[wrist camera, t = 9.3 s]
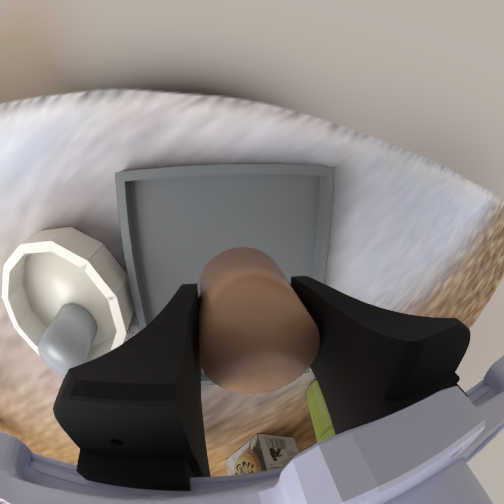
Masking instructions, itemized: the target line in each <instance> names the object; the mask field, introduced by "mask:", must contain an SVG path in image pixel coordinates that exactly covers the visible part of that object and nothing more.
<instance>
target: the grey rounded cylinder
mask: <svg viewBox="0 0 504 504" xmlns="http://www.w3.org/2000/svg"><path fill="white" fill-rule="evenodd" d="M96 334H97V323H96V321H95V319H94V317H93V316H92V315H91V313H90V312H89V311H87V310H86V309H85V308H83V307H82V306H80V305H77V304H72V303H69V304H65V305H63V306H62V307H61V308H60V310H59V311H58V313H57V314H56V316H55V317H54V319H53V320H52V322H51V323H50V325H49V327H48V328H47V330H46V331H45V333H44V335H43V336H42V338H41V340H40V341H39V343H38V352H39V355H40V357H41V358H42V360H43V361H44V362H45V364H46V365H47V366H48V367H50V368H51V369H52V370H54V371H55V372H57V373H59V374H61V375H64V376H66V374H67V372H68V370H69V369H70V368H73V367H76V366H78V365H81V364H83V363H85V361H86V358H87V356H88V353H89V351H90V348H91V346H92V343H93V341H94V338H95V336H96Z"/></svg>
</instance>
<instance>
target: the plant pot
mask: <svg viewBox="0 0 504 504" xmlns="http://www.w3.org/2000/svg"><path fill="white" fill-rule="evenodd" d="M306 398H307V402H308V406H309V410H310V414H311V418H312V422H313V426H314V430H315V435H316V439H317V443H318V442H320V441H323V440H325V439H328V438H330V437H333V436H335V431H334V428H333V425H332V421H331V418H330V415H329V412H328V409H327V406H326V403H325V400H324V397H323V395H322V392H321V389H320V387H319V384H318V381H317V379H316V380H315V381H314V382H313V383H312V384H311V385H310V386H309V388H308V390H307V392H306Z"/></svg>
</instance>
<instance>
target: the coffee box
mask: <svg viewBox="0 0 504 504" xmlns="http://www.w3.org/2000/svg"><path fill="white" fill-rule="evenodd" d="M297 454H299V451H298V449H297V446H296V443H295V440H294V438H293V437H283V436H273V435H265V434H256V435H255V436H254V437H253V438H252V439H250V440H249V441H248V442H247V443H246V444H245V445H243V446H242V447H241V448H240V449H239V450H237V451H236V452H235V453H234V454H233V455H231V456H230V457H229V458H228V459H226V460H225V462H226V467H227V473H228V476H230V475H240V474H248V473H255V472H262V471H268V470H274V469H279V468H284V467H286V465H287V464H288V463H289V462H290V461H291V460H292V459H293V458H294V457H295V455H297Z"/></svg>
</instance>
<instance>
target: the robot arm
mask: <svg viewBox="0 0 504 504" xmlns="http://www.w3.org/2000/svg"><path fill="white" fill-rule="evenodd" d="M291 286H292V288H293V289H294V291H295V292H296V294H297V296H298V297H299V299H300V300H301V302H302V303H303V305H304V306H305V308H306V310H307V311H308V313H309V314H310V316H311V317H312V319H313V320H314V322H315V324H316V325H317V328H318V330H319V335H320V345H319V350H318V353H317V355H316V357H315V359H314V361H313V363H312V364H311V365H310V367H311V369H312V371H313V373H314V375H315V377H316V379H317V381H318V384H319V387H320V389H321V392H322V395H323V397H324V400H325V403H326V406H327V409H328V412H329V415H330V418H331V421H332V425H333V428H334V431H335V436H333V437H330V438H328V439H325V440H323V441H320V442H318V443H316V444H314V445H313V446H311V447H309V448H308V449H306V450H304V451H302V452H301V453H299V454H297V455H295V457H294V458H293V459H292V460H291V461H290V462H289V463H288V464H287V465H286V467H284V468H279V469H274V470H268V471H262V472H255V473H248V474H240V475H230V476H217V477H210V471H209V464H208V458H207V450H206V443H205V434H204V425H203V415H202V404H201V371H202V367H201V363H200V350H199V297H198V286H197V283H196V284H182V285H181V286H180V287H179V289H178V290H177V291H176V293H175V294H174V296H173V297H172V298H171V300H170V301H169V302H168V303H167V305H166V306H165V307H164V308H163V310H162V311H161V312H160V313H159V314H158V315H157V316H156V317H155V318H154V319H153V320H152V321H151V322H150V323H149V324H148V325H147V326H146V327H145V328H144V329H142V330H141V331H140V332H139V333H137V334H136V335H135V336H133V337H132V338H130V339H129V340H127V341H126V342H125V343H123V344H122V345H120V346H118V347H117V348H115V349H113V350H111V351H110V352H108V353H106V354H104V355H102V356H100V357H98V358H96V359H93V360H91V361H88V362H86V363H83V364H81V365H78V366H76V367H73V368H70V369H69V370H68V372H67V374H66V376H65V378H64V380H63V382H62V385H61V387H60V390H59V393H58V395H57V398H56V400H55V403H54V407H53V411H54V415H55V417H56V419H57V421H58V422H59V424H60V426H61V427H62V428H63V429H64V431H65V432H66V433H67V434H68V435H69V437H70V438H71V439H72V440H73V441H74V442H75V444H76V445H77V446H78V447H79V448H80V454H79V459H78V464H77V465H73V464H69V463H65V462H61V461H57V460H54V459H51V458H47V457H44V456H41V455H38V454H35V453H32V451H31V450H30V449H29V448H28V447H27V446H26V445H25V444H24V443H23V442H22V441H21V440H19V439H18V438H16V437H14V436H12V435H10V434H7V433H5V432H3V431H0V502H1V503H3V504H493V503H492V501H491V499H490V498H489V496H488V495H487V493H486V492H485V490H484V489H483V487H482V486H481V484H480V483H479V481H478V480H477V478H476V477H475V475H474V474H473V473H472V471H471V469H470V468H469V467H468V465H467V464H466V463H467V462H468V461H469V460H470V459H472V458H473V457H474V456H475V455H476V454H477V453H478V452H480V450H482V449H483V448H484V447H485V446H486V445H487V444H488V443H489V442H490V441H491V440H492V439H493V438H494V437H495V436H496V435H497V434H498V433H499V432H500V431H501V430H502V429H503V428H504V356H502V357H501V358H500V359H499V360H497V361H496V362H495V363H494V364H493V365H492V366H491V367H490V368H489V370H488V371H487V373H486V375H485V377H484V380H482V381H481V382H480V383H478V384H477V385H475V386H474V387H473V388H471V389H470V390H468V391H467V392H464V391H463V390H462V389H461V388H460V387H459V385H458V384H457V382H458V381H459V376H458V375H457V374H456V373H455V371H456V369H457V368H458V366H459V364H460V362H461V360H462V358H463V356H464V354H465V352H466V350H467V348H468V345H469V342H470V330H469V328H468V327H467V326H465V325H464V324H463V323H462V322H461V321H459V320H458V319H456V318H431V317H422V316H414V315H408V314H403V313H399V312H394V311H390V310H386V309H383V308H379V307H376V306H373V305H370V304H367V303H365V302H362V301H360V300H357V299H355V298H352V297H350V296H348V295H346V294H343V293H341V292H339V291H337V290H335V289H333V288H331V287H329V286H327V285H325V284H323V283H321V282H319V281H317V280H315V279H313V278H310V277H308V276H294V277H291Z"/></svg>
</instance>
